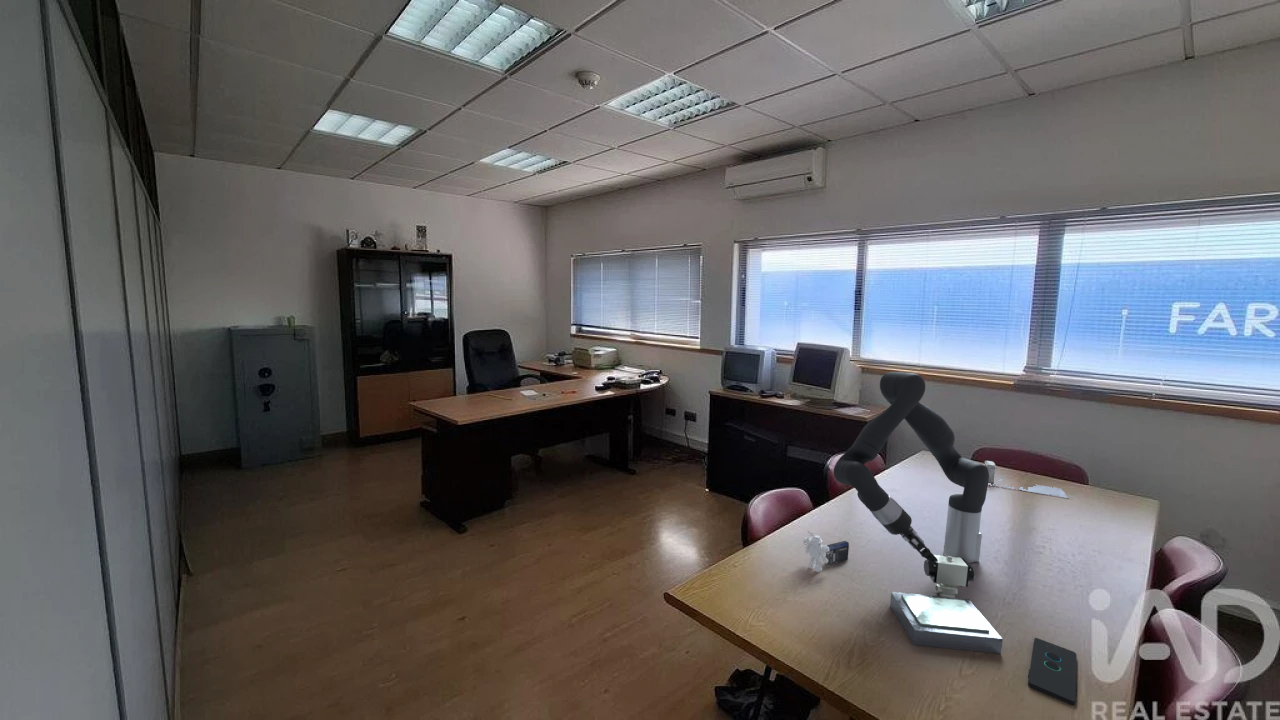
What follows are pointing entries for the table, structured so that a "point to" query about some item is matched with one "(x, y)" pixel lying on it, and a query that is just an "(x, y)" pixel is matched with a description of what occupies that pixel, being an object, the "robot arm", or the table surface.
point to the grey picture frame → (945, 623)
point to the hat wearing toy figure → (816, 551)
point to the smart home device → (1053, 671)
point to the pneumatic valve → (949, 574)
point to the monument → (1034, 489)
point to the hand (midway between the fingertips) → (928, 554)
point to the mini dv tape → (837, 552)
